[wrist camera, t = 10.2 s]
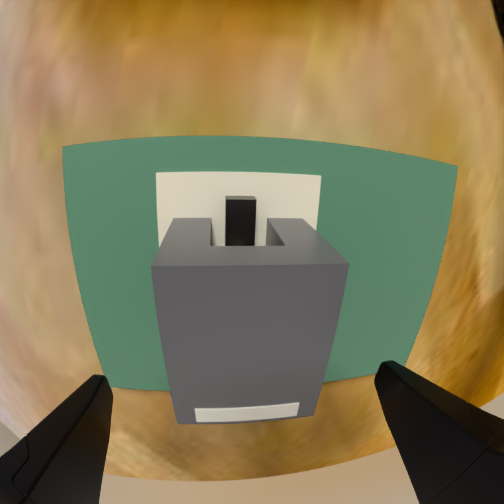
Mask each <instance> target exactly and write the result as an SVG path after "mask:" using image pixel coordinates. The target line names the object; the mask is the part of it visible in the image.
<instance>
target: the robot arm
mask: <svg viewBox="0 0 504 504" xmlns="http://www.w3.org/2000/svg"><path fill="white" fill-rule="evenodd" d="M494 1H495V5H496V9H497V13H498V17H499V22H500V27H501V31H502V34H503V36H504V0H494ZM374 383H375V387H376V390H377V394H378V397H379V400H380V403H381V406H382V410H383V413H384V416H385V419H386V421H387V424H388V426H389V429H390V431H391V433H392V436H393V438H394V440H395V443H396V445H397V448H398V450H399V452H400V455H401V457H402V460H403V462H404V465H405V467H406V470H407V472H408V475H409V477H410V480H411V483H412V485H413V488H414V490H415V493H416V496H417V498H418V501H419V503H420V504H504V419H501V418H499V417H497V416H494V415H492V414H490V413H488V412H485V411H483V410H481V409H480V408H478V407H476V406H474V405H472V404H470V403H468V402H466V401H465V400H463V399H461V398H459V397H457V396H456V395H454V394H452V393H450V392H448V391H447V390H445V389H443V388H441V387H439V386H438V385H436V384H434V383H432V382H430V381H429V380H427V379H425V378H423V377H422V376H420V375H418V374H416V373H415V372H413V371H411V370H409V369H407V368H406V367H404V366H402V365H400V364H399V363H397V362H395V361H393V360H388V361H383V362H382V363H381V364H380V366H379V368H378V371H377V374H376V376H375V380H374ZM112 405H113V393H112V390H111V388H110V385H109V382H108V379H107V377H106V376H104V375H96V374H95V375H92V376H91V377H90V378H89V379H88V380H87V381H85V382H84V383H83V384H82V385H81V386H80V387H79V388H78V389H77V390H75V391H74V392H73V393H72V394H71V395H70V396H69V397H68V398H67V399H65V400H64V401H63V402H62V403H61V404H60V405H59V406H58V407H57V408H55V409H54V410H53V411H52V412H51V413H50V414H49V415H48V416H47V417H45V418H44V419H43V420H42V421H41V422H40V423H39V424H38V425H37V426H36V427H34V428H33V429H32V430H31V431H30V432H29V433H28V434H27V436H24V437H23V438H22V439H21V440H20V441H19V442H18V443H17V444H16V445H14V447H12V448H11V449H10V450H9V451H7V452H6V453H5V454H4V455H2V456H1V457H0V504H99V497H100V490H101V484H102V477H103V471H104V465H105V460H106V454H107V449H108V443H109V437H110V426H111V414H112Z"/></svg>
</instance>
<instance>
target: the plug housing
mask: <svg viewBox="0 0 504 504" xmlns="http://www.w3.org/2000/svg"><path fill="white" fill-rule="evenodd" d="M349 264H350V263H349V262H348V261H347V260H346V259H345V258H344V257H343V256H342V255H341V254H340V253H338V252H337V251H336V250H335V249H334V248H333V247H332V246H331V245H330V244H329V243H328V242H327V241H326V240H325V239H324V238H323V237H322V236H321V235H320V234H319V233H318V232H317V231H316V230H315V229H313V228H312V227H311V226H310V225H309V224H308V223H307V222H306V221H305V220H304V219H303V218H267V228H266V245H265V246H211V218H173V220H172V222H171V224H170V226H169V228H168V230H167V232H166V234H165V236H164V239H163V241H162V243H161V245H160V247H159V249H158V251H157V253H156V256H155V258H154V260H153V262H152V264H151V273H152V282H153V291H154V299H155V307H156V314H157V321H158V327H159V334H160V340H161V346H162V352H163V357H164V363H165V368H166V373H167V378H168V383H169V388H170V393H171V398H172V402H173V406H174V411H175V415H176V419H177V423H178V424H234V423H251V422H264V421H275V420H284V419H292V418H300V417H307V416H313V415H314V412H315V408H316V405H317V402H318V398H319V395H320V391H321V388H322V384H323V381H324V377H325V373H326V370H327V366H328V362H329V358H330V354H331V350H332V346H333V342H334V338H335V333H336V329H337V325H338V320H339V315H340V311H341V306H342V301H343V296H344V291H345V286H346V281H347V275H348V269H349Z"/></svg>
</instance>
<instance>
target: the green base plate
mask: <svg viewBox="0 0 504 504" xmlns="http://www.w3.org/2000/svg"><path fill="white" fill-rule="evenodd" d="M457 168H458V166H455V165H451V164H447V163H443V162H438V161H434V160H430V159H425V158H421V157H416V156H411V155H406V154H401V153H395V152H390V151H384V150H378V149H372V148H365V147H359V146H351V145H344V144H336V143H327V142H318V141H308V140H297V139H284V138H268V137H246V136H171V137H150V138H135V139H122V140H111V141H101V142H93V143H84V144H77V145H70V146H63V175H64V190H65V201H66V211H67V220H68V227H69V235H70V241H71V248H72V254H73V259H74V265H75V270H76V275H77V280H78V285H79V289H80V294H81V298H82V302H83V306H84V310H85V314H86V318H87V321H88V325H89V329H90V332H91V335H92V339H93V342H94V345H95V349H96V352H97V355H98V358H99V361H100V364H101V367H102V370H103V372H104V375H105V376H106V377H107V379H108V382H109V385H110V387H116V388H127V389H140V390H157V391H170V388H169V383H168V378H167V373H166V368H165V363H164V357H163V352H162V346H161V340H160V334H159V327H158V321H157V314H156V307H155V299H154V291H153V282H152V273H151V264H152V262H153V260H154V258H155V256H156V253H157V251H158V249H159V247H160V245H161V243H162V241H163V239H164V236H165V234H166V232H167V230H168V228H169V226H170V224H171V222H172V220H173V218H211V246H225V196H254V197H255V198H256V200H257V202H256V224H255V246H265V245H266V228H267V218H303V219H304V220H305V221H306V222H307V223H308V224H309V225H310V226H311V227H312V228H313V229H315V230H316V231H317V232H318V233H319V234H320V235H321V236H322V237H323V238H324V239H325V240H326V241H327V242H328V243H329V244H330V245H331V246H332V247H333V248H334V249H335V250H336V251H337V252H338V253H340V254H341V255H342V256H343V257H344V258H345V259H346V260H347V261H348V262H349V263H350V264H349V269H348V275H347V281H346V286H345V291H344V296H343V301H342V306H341V311H340V315H339V320H338V325H337V329H336V333H335V338H334V342H333V346H332V350H331V354H330V358H329V362H328V366H327V370H326V373H325V377H324V381H323V383H324V382H331V381H337V380H343V379H349V378H355V377H361V376H366V375H371V374H376V373H377V371H378V368H379V366H380V364H381V363H382V362H383V361H388V360H393V361H395V362H397V363H399V364H400V365H402V366H405V364H406V362H407V359H408V357H409V355H410V352H411V350H412V347H413V345H414V342H415V340H416V337H417V334H418V332H419V329H420V326H421V324H422V321H423V318H424V315H425V312H426V309H427V306H428V303H429V300H430V297H431V293H432V290H433V287H434V283H435V280H436V276H437V273H438V269H439V265H440V261H441V257H442V253H443V249H444V245H445V241H446V236H447V231H448V226H449V221H450V216H451V210H452V204H453V198H454V192H455V184H456V177H457Z"/></svg>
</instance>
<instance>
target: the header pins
mask: <svg viewBox="0 0 504 504" xmlns="http://www.w3.org/2000/svg"><path fill="white" fill-rule="evenodd" d="M256 202H257V200H256V198H255V197H254V196H225V246H255V224H256Z"/></svg>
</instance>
